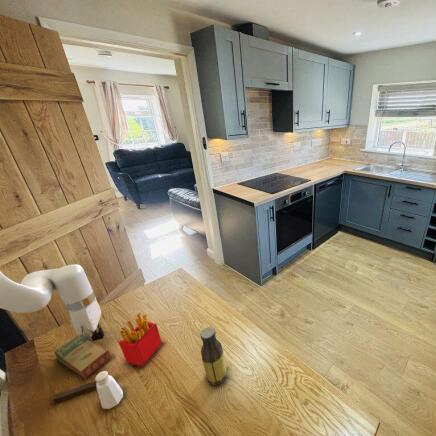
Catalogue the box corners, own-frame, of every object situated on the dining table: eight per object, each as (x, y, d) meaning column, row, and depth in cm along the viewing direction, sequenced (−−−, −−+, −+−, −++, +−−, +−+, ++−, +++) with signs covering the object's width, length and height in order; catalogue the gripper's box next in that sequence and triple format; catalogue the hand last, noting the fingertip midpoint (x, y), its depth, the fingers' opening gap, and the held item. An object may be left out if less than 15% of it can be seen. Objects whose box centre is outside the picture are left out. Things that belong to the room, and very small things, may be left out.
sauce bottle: (227, 364, 80) (221, 321, 72) (226, 383, 74) (219, 339, 66) (207, 368, 78) (198, 324, 70) (205, 388, 73) (195, 343, 65)
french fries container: (125, 362, 80) (113, 332, 74) (147, 339, 88) (138, 311, 82) (142, 368, 78) (131, 338, 72) (163, 344, 86) (154, 315, 81)
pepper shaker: (107, 414, 66) (94, 389, 62) (97, 403, 69) (84, 379, 64) (127, 395, 71) (117, 371, 66) (117, 386, 73) (107, 362, 68)
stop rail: (54, 403, 68) (52, 399, 68) (57, 398, 70) (54, 394, 69) (112, 383, 74) (111, 380, 73) (113, 379, 75) (112, 375, 74)
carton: (84, 380, 74) (79, 371, 73) (57, 359, 80) (52, 351, 79) (112, 357, 81) (108, 349, 79) (85, 340, 87) (81, 331, 85)
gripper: (74, 288, 83) (92, 326, 91) (56, 320, 71) (79, 360, 79) (99, 283, 86) (115, 319, 94) (87, 312, 74) (106, 351, 81)
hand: (98, 338), depth 86 cm, fingers closed
